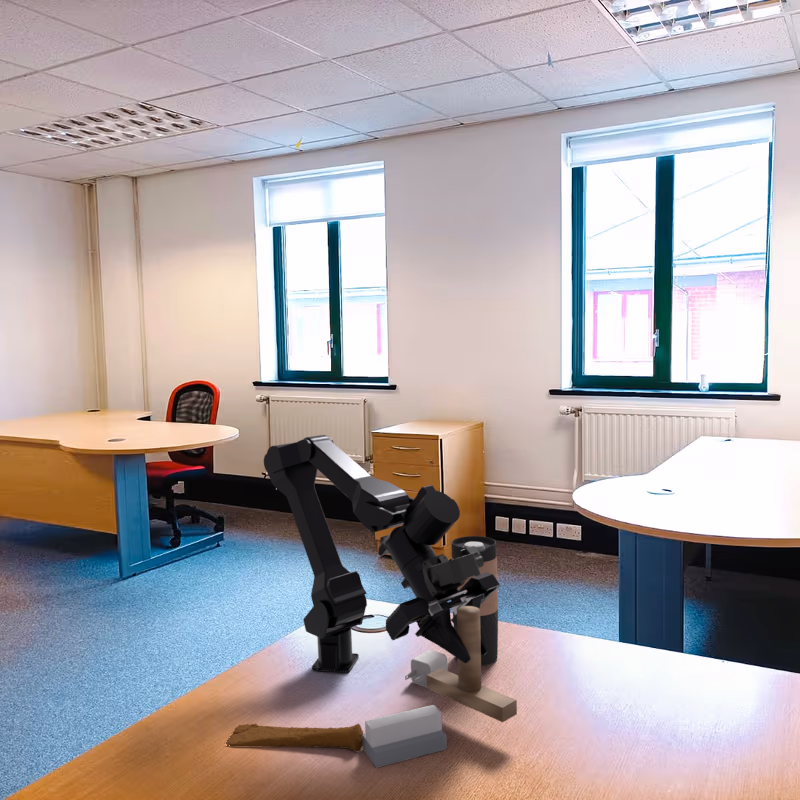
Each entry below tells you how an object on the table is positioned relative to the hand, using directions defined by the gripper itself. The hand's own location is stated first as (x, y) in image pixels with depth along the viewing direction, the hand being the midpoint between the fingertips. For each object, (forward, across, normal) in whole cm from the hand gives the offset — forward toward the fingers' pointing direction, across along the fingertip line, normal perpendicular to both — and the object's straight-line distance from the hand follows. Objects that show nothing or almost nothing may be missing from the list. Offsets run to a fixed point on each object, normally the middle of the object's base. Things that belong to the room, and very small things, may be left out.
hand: (476, 657), depth 106 cm
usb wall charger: (-3, +5, +19) cm, 20 cm away
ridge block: (+5, -10, +10) cm, 15 cm away
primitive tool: (-4, -20, +20) cm, 28 cm away
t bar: (+4, 0, +6) cm, 7 cm away
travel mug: (-4, +18, +19) cm, 26 cm away
